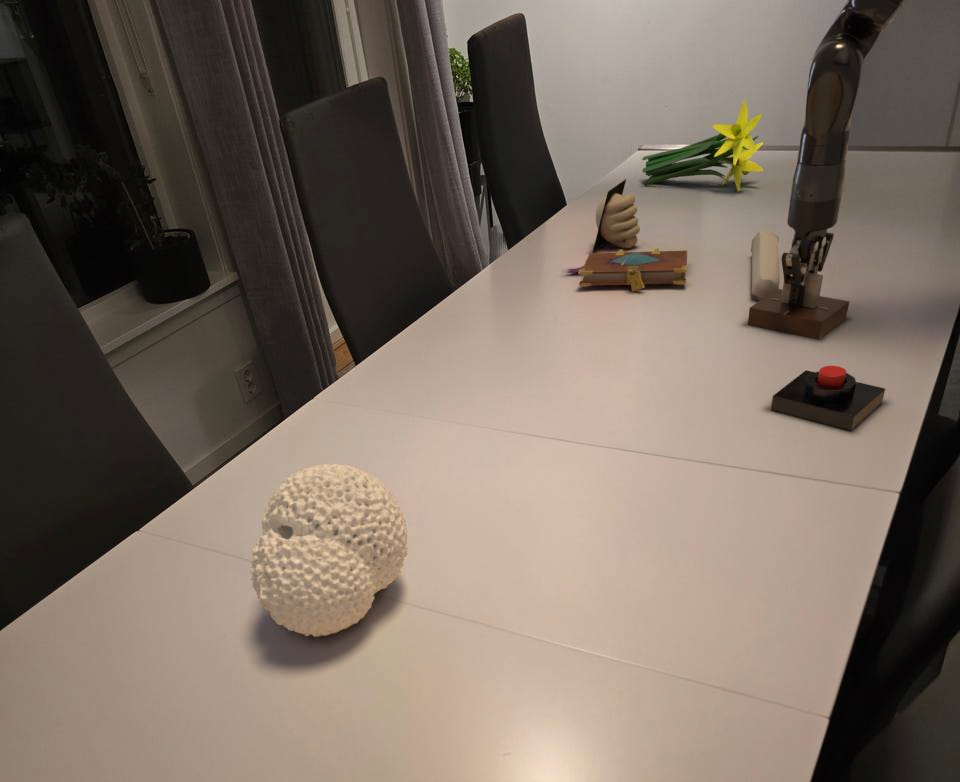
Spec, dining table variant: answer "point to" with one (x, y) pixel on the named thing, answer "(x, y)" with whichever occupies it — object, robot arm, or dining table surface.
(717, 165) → the daffodil flowers
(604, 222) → the decorative object
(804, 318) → the knob panel
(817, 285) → the knob
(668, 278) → the book
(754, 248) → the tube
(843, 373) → the button
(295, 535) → the cream bumpy rounded lump
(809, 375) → the button box
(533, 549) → the dining table surface
